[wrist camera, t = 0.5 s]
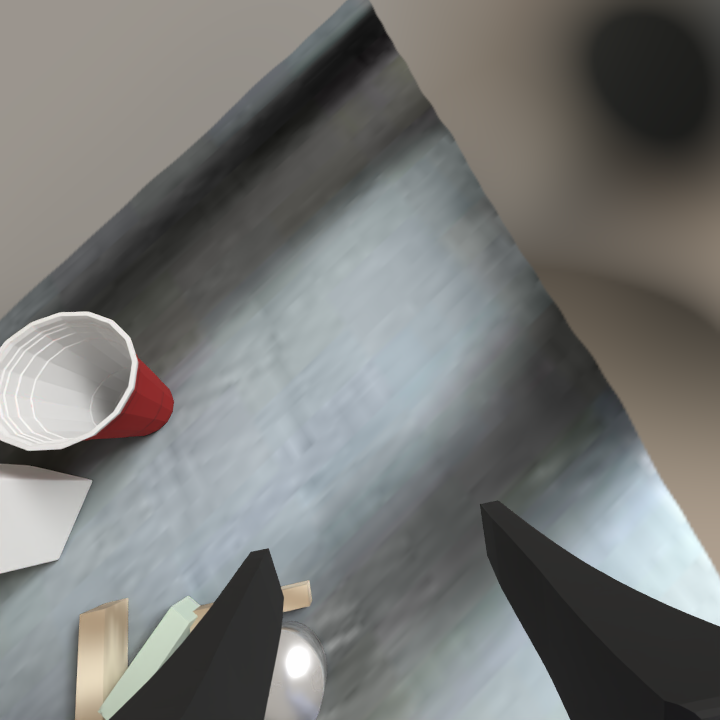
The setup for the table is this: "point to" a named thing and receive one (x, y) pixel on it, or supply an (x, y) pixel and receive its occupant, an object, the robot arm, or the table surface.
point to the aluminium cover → (297, 675)
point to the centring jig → (110, 650)
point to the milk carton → (36, 514)
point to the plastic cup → (76, 384)
